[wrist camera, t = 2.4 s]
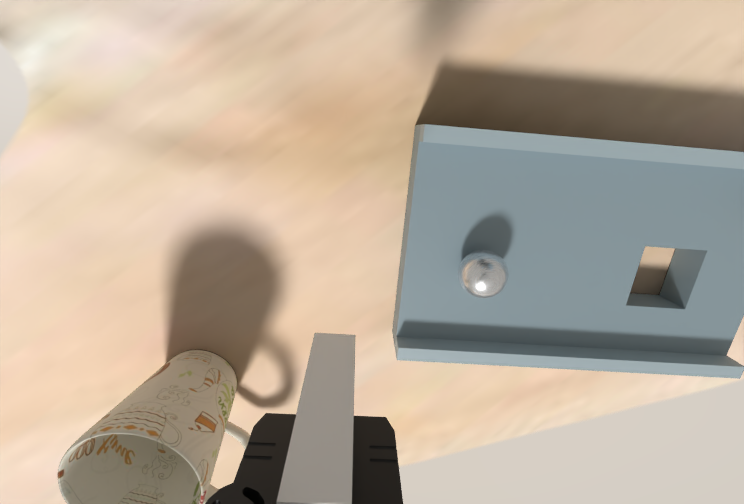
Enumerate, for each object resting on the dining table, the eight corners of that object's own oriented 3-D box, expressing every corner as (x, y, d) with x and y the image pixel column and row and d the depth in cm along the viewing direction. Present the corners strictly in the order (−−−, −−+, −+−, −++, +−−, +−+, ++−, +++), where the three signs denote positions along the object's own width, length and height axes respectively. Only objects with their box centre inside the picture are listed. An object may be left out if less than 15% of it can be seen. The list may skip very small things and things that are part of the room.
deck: (415, 125, 25) (424, 124, 21) (771, 156, 27) (839, 160, 23) (392, 331, 30) (396, 360, 26) (694, 348, 31) (740, 378, 28)
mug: (188, 317, 29) (105, 406, 20) (309, 403, 32) (288, 517, 23) (131, 383, 31) (29, 494, 21) (251, 459, 34) (208, 587, 24)
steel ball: (456, 242, 25) (469, 257, 22) (502, 245, 25) (521, 261, 22) (449, 285, 26) (461, 305, 23) (493, 288, 26) (510, 308, 23)
